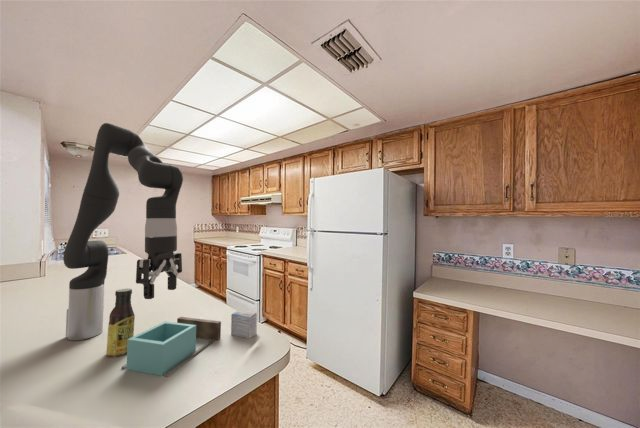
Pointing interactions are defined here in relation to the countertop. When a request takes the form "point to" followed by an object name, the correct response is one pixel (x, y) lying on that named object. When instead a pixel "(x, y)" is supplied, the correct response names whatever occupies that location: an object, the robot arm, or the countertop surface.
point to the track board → (198, 336)
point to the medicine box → (244, 323)
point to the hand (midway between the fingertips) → (161, 293)
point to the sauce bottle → (120, 324)
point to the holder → (161, 347)
